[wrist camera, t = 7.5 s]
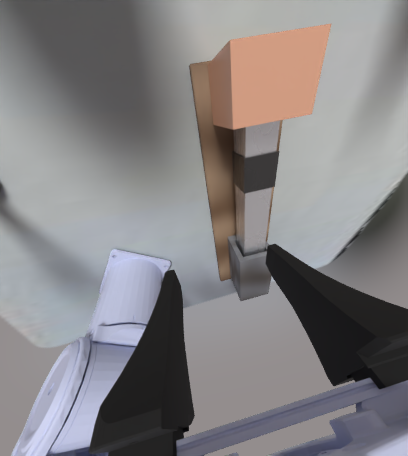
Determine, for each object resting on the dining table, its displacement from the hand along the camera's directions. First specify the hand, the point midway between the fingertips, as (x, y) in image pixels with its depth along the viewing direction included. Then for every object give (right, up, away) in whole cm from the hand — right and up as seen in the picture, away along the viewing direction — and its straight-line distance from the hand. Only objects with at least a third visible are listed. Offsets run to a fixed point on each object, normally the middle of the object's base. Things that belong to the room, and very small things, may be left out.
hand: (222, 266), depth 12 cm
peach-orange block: (+2, +14, +1) cm, 14 cm away
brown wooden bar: (+3, +5, +9) cm, 11 cm away
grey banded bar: (+3, +7, +5) cm, 9 cm away
